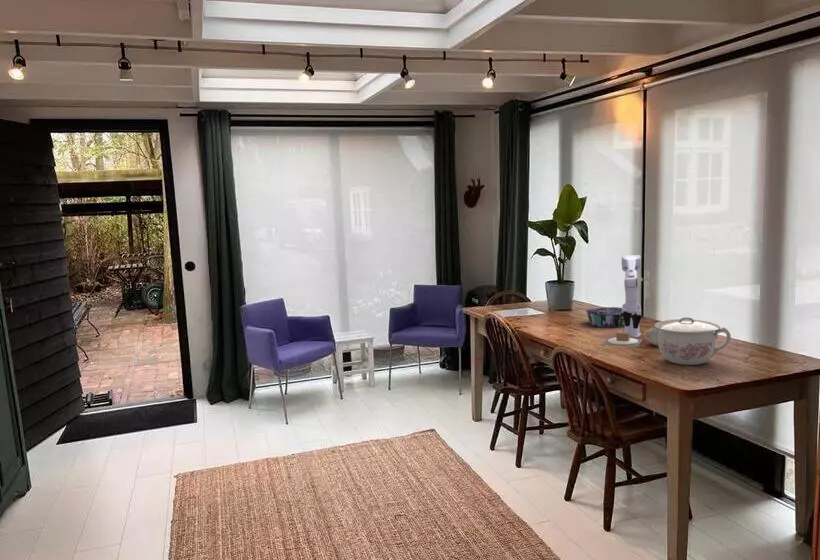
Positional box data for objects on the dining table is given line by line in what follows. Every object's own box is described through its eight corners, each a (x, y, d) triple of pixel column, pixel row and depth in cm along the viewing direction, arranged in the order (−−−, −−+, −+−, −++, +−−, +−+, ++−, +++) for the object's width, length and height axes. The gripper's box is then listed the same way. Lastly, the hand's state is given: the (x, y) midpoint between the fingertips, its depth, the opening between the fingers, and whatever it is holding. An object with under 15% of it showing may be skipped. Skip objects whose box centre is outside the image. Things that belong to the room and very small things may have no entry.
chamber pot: (640, 359, 283) (640, 316, 280) (683, 351, 294) (683, 309, 291) (690, 373, 257) (690, 326, 255) (735, 363, 268) (736, 317, 266)
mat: (610, 337, 329) (610, 337, 329) (643, 340, 320) (643, 339, 320) (602, 345, 314) (602, 344, 314) (636, 347, 305) (636, 347, 305)
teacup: (670, 342, 311) (670, 327, 310) (673, 347, 301) (673, 332, 300) (641, 342, 315) (641, 327, 314) (644, 347, 305) (643, 331, 304)
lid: (611, 337, 327) (611, 329, 326) (640, 339, 319) (640, 330, 319) (604, 344, 314) (604, 335, 314) (635, 346, 306) (634, 336, 306)
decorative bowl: (638, 330, 351) (639, 313, 350) (590, 329, 352) (591, 312, 350) (624, 321, 376) (625, 306, 375) (579, 320, 377) (580, 305, 376)
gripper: (616, 299, 314) (616, 325, 315) (632, 302, 300) (632, 329, 301) (628, 299, 316) (629, 324, 317) (644, 302, 302) (645, 329, 303)
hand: (631, 327), depth 309 cm, fingers open, 7 cm apart
